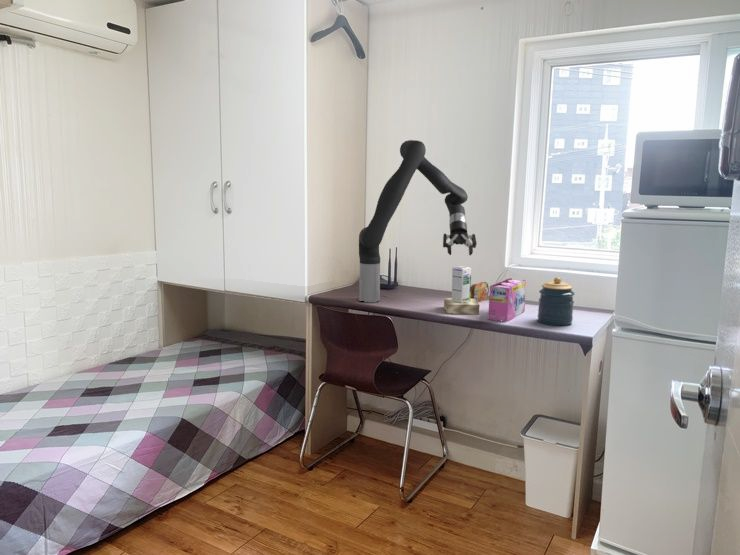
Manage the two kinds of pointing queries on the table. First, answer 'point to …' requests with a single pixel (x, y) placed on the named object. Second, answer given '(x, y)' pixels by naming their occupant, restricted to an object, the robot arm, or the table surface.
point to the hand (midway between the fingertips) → (460, 254)
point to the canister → (556, 303)
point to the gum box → (506, 299)
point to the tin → (479, 291)
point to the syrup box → (461, 284)
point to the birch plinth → (461, 307)
